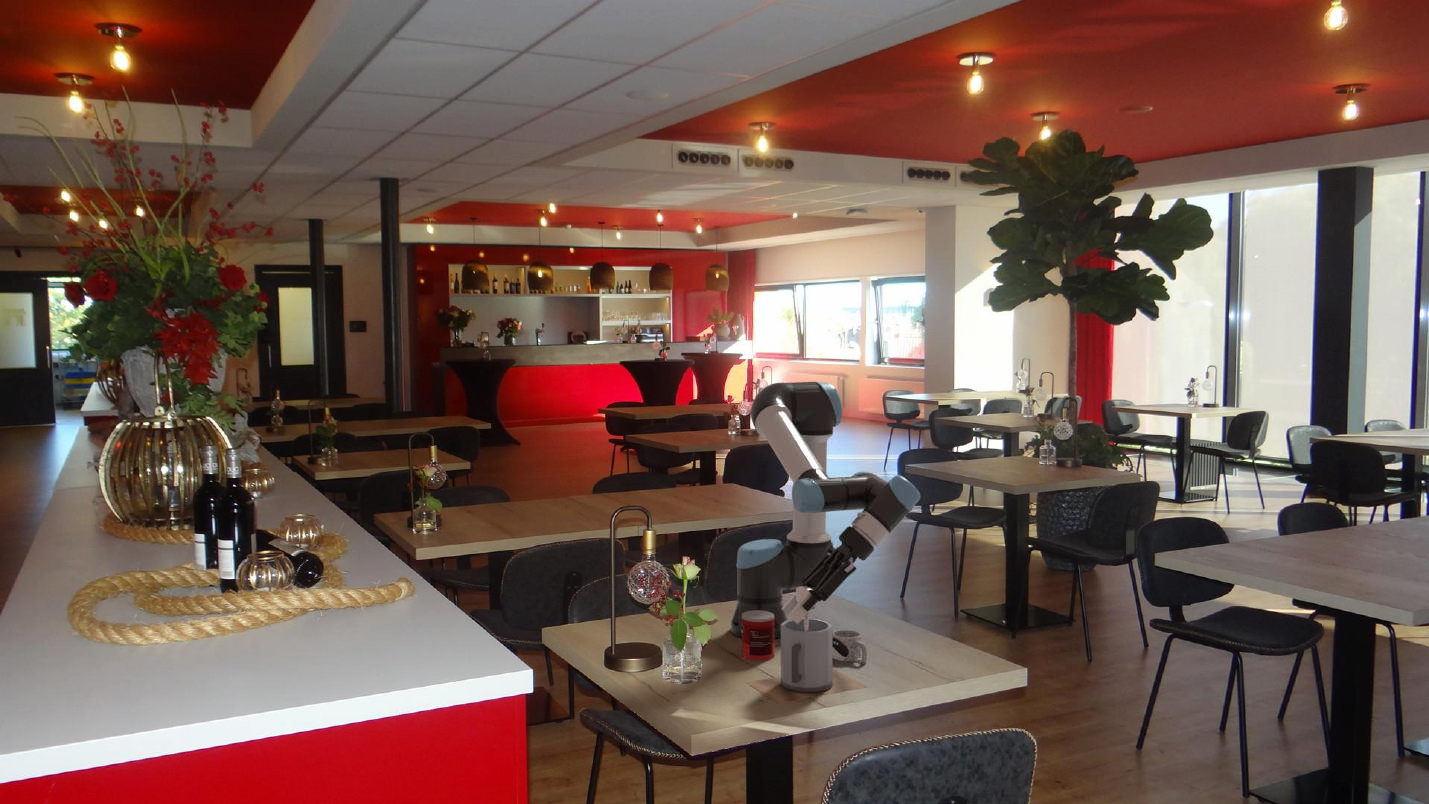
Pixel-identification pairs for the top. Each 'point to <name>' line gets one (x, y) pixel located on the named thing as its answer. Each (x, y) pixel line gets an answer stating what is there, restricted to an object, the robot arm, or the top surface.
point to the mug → (848, 646)
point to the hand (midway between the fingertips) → (789, 616)
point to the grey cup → (806, 656)
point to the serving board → (781, 695)
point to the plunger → (800, 594)
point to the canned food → (758, 635)
